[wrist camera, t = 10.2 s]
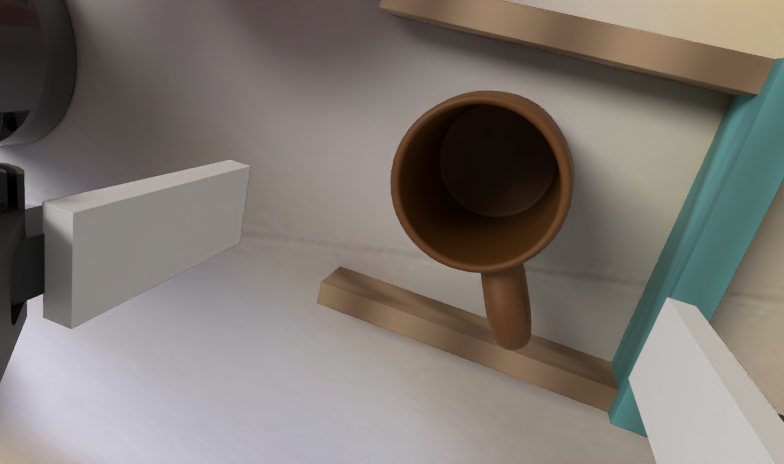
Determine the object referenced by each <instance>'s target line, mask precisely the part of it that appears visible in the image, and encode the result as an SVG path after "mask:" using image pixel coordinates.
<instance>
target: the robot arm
mask: <svg viewBox="0 0 784 464" xmlns="http://www.w3.org/2000/svg"><path fill="white" fill-rule="evenodd" d="M74 78H75V47H74V39H73V34H72V29H71V24H70V21H69V17H68V14H67V11H66V8H65V5H64V3H63V0H0V146H5V145H17V144H26V143H30V142H34V141H36V140H38V139H40V138H42V137H44V136H45V135H47V134H48V133H49V132H50V131H51V130H52V129H53V128H54V127H55V126H56V125H57V124H58V122H59V121H60V120H61V118H62V116H63V115H64V113H65V111H66V109H67V106H68V104H69V101H70V98H71V94H72V90H73V85H74ZM249 172H250V166H249V165H246V164H242V163H239V162H236V161H233V160H226V161H221V162H217V163H213V164H208V165H204V166H199V167H195V168H190V169H186V170H182V171H177V172H173V173H168V174H164V175H159V176H155V177H150V178H146V179H142V180H137V181H133V182H128V183H124V184H119V185H115V186H111V187H106V188H102V189H97V190H93V191H88V192H84V193H79V194H75V195H71V196H66V197H62V198H57V199H53V200H48V201H44V202H43V205H42V206H38V207H34V208H29V209H25V187H24V170H22V169H21V168H19V167H17V166H14V165H10V164H6V163H0V382H1V379H2V377H3V374H4V372H5V369H6V367H7V365H8V362H9V360H10V357H11V355H12V352H13V350H14V347H15V345H16V342H17V340H18V337H19V335H20V332H21V330H22V327H23V325H24V322H25V320H26V317H27V300H29V299H31V298H34V297H36V296H39V295H41V294H43V318H46V319H48V320H51V321H53V322H55V323H58V324H60V325H63V326H65V327H67V328H70V329H73V328H75V327H77V326H78V325H80V324H82V323H84V322H86V321H88V320H90V319H92V318H94V317H96V316H98V315H100V314H102V313H104V312H106V311H108V310H110V309H111V308H113V307H115V306H117V305H119V304H121V303H123V302H125V301H127V300H129V299H131V298H133V297H135V296H137V295H139V294H141V293H143V292H145V291H146V290H148V289H150V288H152V287H154V286H156V285H158V284H160V283H162V282H164V281H166V280H168V279H170V278H172V277H174V276H176V275H178V274H179V273H181V272H183V271H185V270H187V269H189V268H191V267H193V266H195V265H197V264H199V263H201V262H203V261H205V260H207V259H209V258H211V257H212V256H214V255H216V254H218V253H220V252H222V251H224V250H226V249H228V248H230V247H232V246H234V245H236V244H238V243H240V237H241V230H242V222H243V215H244V208H245V201H246V194H247V187H248V180H249ZM628 379H629V382H630V385H631V388H632V391H633V394H634V397H635V400H636V403H637V406H638V409H639V412H640V415H641V418H642V421H643V424H644V427H645V430H646V433H647V436H648V439H649V442H650V445H651V448H652V451H653V455H654V458H655V461H656V464H784V416H783V415H780V414H777V413H776V411H775V410H774V409H773V407H772V406H771V405H770V403H769V402H768V401H767V400H766V398H765V397H764V396H763V394H762V393H761V392H760V390H759V389H758V388H757V386H756V385H755V384H754V382H753V381H752V380H751V378H750V377H749V376H748V374H747V373H746V372H745V370H744V369H743V368H742V366H741V365H740V364H739V362H738V361H737V360H736V358H735V357H734V356H733V354H732V353H731V352H730V350H729V349H728V348H727V347H726V345H725V344H724V343H723V341H722V340H721V339H720V337H719V336H718V335H717V333H716V332H715V331H714V329H713V328H712V327H711V325H710V324H709V323H708V321H707V320H706V319H705V317H704V316H703V315H702V313H701V312H700V311H699V309H698V308H697V307H696V306H694V305H690V304H687V303H684V302H681V301H678V300H675V299H671V298H668V297H667V299H666V301H665V303H664V305H663V307H662V309H661V311H660V313H659V315H658V317H657V319H656V322H655V324H654V326H653V328H652V330H651V332H650V334H649V336H648V338H647V340H646V342H645V344H644V347H643V349H642V351H641V353H640V355H639V357H638V359H637V361H636V363H635V365H634V367H633V370H632V372H631V374H630V376H629V378H628Z"/></svg>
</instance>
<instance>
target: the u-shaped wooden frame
mask: <svg viewBox="0 0 784 464" xmlns="http://www.w3.org/2000/svg"><path fill="white" fill-rule="evenodd" d="M379 7H380V8H382V9H384V10H386V11H388V12H389V13H391V14H393V15H395V16H398V17H402V18H407V19H411V20H415V21H419V22H424V23H428V24H432V25H437V26H441V27H445V28H449V29H454V30H458V31H462V32H466V33H471V34H475V35H479V36H484V37H488V38H492V39H496V40H501V41H505V42H509V43H513V44H518V45H522V46H526V47H531V48H535V49H539V50H543V51H548V52H552V53H556V54H561V55H565V56H569V57H573V58H578V59H582V60H586V61H590V62H595V63H599V64H603V65H608V66H612V67H616V68H620V69H625V70H629V71H633V72H637V73H642V74H646V75H650V76H655V77H659V78H663V79H667V80H672V81H676V82H680V83H685V84H689V85H693V86H697V87H702V88H706V89H710V90H714V91H719V92H723V93H727V94H732V95H733V98H732V100H731V102H730V104H729V106H728V109H727V111H726V113H725V115H724V117H723V120H722V122H721V124H720V126H719V128H718V130H717V133H716V135H715V137H714V139H713V141H712V144H711V146H710V148H709V150H708V152H707V155H706V157H705V159H704V161H703V163H702V166H701V168H700V170H699V172H698V174H697V177H696V179H695V181H694V183H693V185H692V187H691V190H690V192H689V194H688V196H687V198H686V201H685V203H684V205H683V207H682V209H681V212H680V214H679V216H678V218H677V220H676V223H675V225H674V227H673V229H672V231H671V233H670V236H669V238H668V240H667V242H666V244H665V247H664V249H663V251H662V253H661V255H660V258H659V260H658V262H657V264H656V266H655V269H654V271H653V273H652V275H651V277H650V280H649V282H648V284H647V286H646V288H645V290H644V293H643V295H642V297H641V299H640V301H639V304H638V306H637V308H636V310H635V312H634V315H633V317H632V319H631V321H630V323H629V326H628V328H627V330H626V332H625V334H624V336H623V339H622V341H621V343H620V345H619V347H618V350H617V352H616V354H615V356H614V358H613V361H612V363H611V362H608V361H605V360H602V359H599V358H597V357H594V356H591V355H588V354H585V353H582V352H580V351H577V350H574V349H571V348H568V347H565V346H563V345H560V344H557V343H554V342H551V341H549V340H546V339H543V338H540V337H537V336H534V335H532V334H531V338H530V340H529V342H528V344H526V345H525V346H524V347H523V348H521V349H518V350H514V351H512V350H506V349H504V348H502V347H500V346H499V345H498V344H497V343H496V341H495V340H494V338H493V336H492V332H491V329H490V326H489V322H488V319H487V318H484V317H481V316H478V315H475V314H472V313H470V312H467V311H464V310H461V309H458V308H455V307H453V306H450V305H447V304H444V303H441V302H439V301H436V300H433V299H430V298H427V297H424V296H422V295H419V294H416V293H413V292H410V291H408V290H405V289H402V288H399V287H396V286H393V285H391V284H388V283H385V282H382V281H379V280H376V279H374V278H371V277H368V276H365V275H362V274H360V273H357V272H354V271H351V270H348V269H345V268H343V267H339V268H338V269H337V270H335V271H334V272H333V273H332V274H331V275H329V276H328V277H327V278H326V279H325V280H323V281H322V282H321V287H320V292H319V296H318V301H317V303H318V304H321V305H323V306H326V307H329V308H331V309H334V310H337V311H339V312H342V313H345V314H347V315H350V316H353V317H355V318H358V319H361V320H363V321H366V322H369V323H371V324H374V325H377V326H379V327H382V328H385V329H387V330H390V331H393V332H395V333H398V334H401V335H403V336H406V337H409V338H411V339H414V340H417V341H419V342H422V343H425V344H427V345H430V346H433V347H435V348H438V349H441V350H443V351H446V352H449V353H451V354H454V355H457V356H459V357H462V358H465V359H467V360H470V361H473V362H475V363H478V364H481V365H483V366H486V367H489V368H491V369H494V370H497V371H499V372H502V373H505V374H507V375H510V376H513V377H515V378H518V379H521V380H523V381H526V382H529V383H531V384H534V385H537V386H539V387H542V388H545V389H547V390H550V391H553V392H555V393H558V394H561V395H563V396H566V397H569V398H571V399H574V400H577V401H579V402H582V403H585V404H587V405H590V406H593V407H595V408H598V409H601V410H603V411H606V412H608V413H609V418H610V423H611V424H613V425H616V426H619V427H621V428H624V429H626V430H629V431H632V432H634V433H637V434H640V435H642V436H645V437H648V436H647V433H646V430H645V427H644V424H643V421H642V418H641V415H640V412H639V409H638V406H637V403H636V400H635V397H634V394H633V391H632V388H631V385H630V382H629V379H628V378H629V376H630V374H631V372H632V370H633V367H634V365H635V363H636V361H637V359H638V357H639V355H640V353H641V351H642V349H643V347H644V344H645V342H646V340H647V338H648V336H649V334H650V332H651V330H652V328H653V326H654V324H655V322H656V319H657V317H658V315H659V313H660V311H661V309H662V307H663V305H664V303H665V301H666V299H667V297H668V298H671V299H675V300H678V301H681V302H684V303H687V304H690V305H694V306H696V307H697V308H698V309H699V311H700V312H701V313H702V315H703V316H704V317H705V319H706V320H707V321H708V323H709V322H710V320H711V318H712V316H713V314H714V312H715V310H716V308H717V306H718V304H719V303H720V301H721V299H722V297H723V295H724V293H725V291H726V289H727V287H728V285H729V283H730V281H731V279H732V277H733V275H734V274H735V272H736V270H737V268H738V266H739V264H740V262H741V260H742V258H743V256H744V254H745V252H746V250H747V248H748V247H749V245H750V243H751V241H752V239H753V237H754V235H755V233H756V231H757V229H758V227H759V225H760V223H761V221H762V219H763V218H764V216H765V214H766V212H767V210H768V208H769V206H770V204H771V202H772V200H773V198H774V196H775V194H776V192H777V191H778V189H779V187H780V185H781V183H782V181H783V179H784V58H781V59H771V58H766V57H762V56H757V55H752V54H748V53H743V52H739V51H734V50H729V49H725V48H720V47H716V46H711V45H706V44H702V43H697V42H692V41H688V40H683V39H679V38H674V37H669V36H665V35H660V34H655V33H651V32H646V31H642V30H637V29H632V28H628V27H623V26H619V25H614V24H609V23H605V22H600V21H595V20H591V19H586V18H582V17H577V16H572V15H568V14H563V13H559V12H554V11H549V10H545V9H540V8H535V7H531V6H526V5H522V4H517V3H512V2H508V1H503V0H381V1H380V6H379Z"/></svg>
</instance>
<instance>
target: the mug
mask: <svg viewBox="0 0 784 464" xmlns="http://www.w3.org/2000/svg"><path fill="white" fill-rule="evenodd" d="M573 185H574V170H573V161H572V157H571V153H570V150H569V147H568V144H567V142H566V139H565V138H564V136H563V134H562V132H561V130H560V129H559V127H558V125H557V124H556V123H555V121H554V120H553V119H552V117H551V116H550V115H549V114H548V113H547V112H546V111H545V110H544V109H543V108H541V107H540V106H539V105H537V104H536V103H534V102H532V101H530V100H528V99H526V98H524V97H521V96H518V95H515V94H511V93H506V92H498V91H476V92H470V93H465V94H461V95H458V96H455V97H452V98H450V99H448V100H446V101H444V102H442V103H440V104H438V105H436V106H435V107H433V108H432V109H430V110H429V111H427V112H426V113H425V114H423V115H422V116H421V117H420V118H419V119H418V120H417V121H416V122H415V123H414V124H413V125H412V126H411V127H410V129H409V130H408V131H407V133H406V134H405V136H404V137H403V139H402V141H401V143H400V145H399V147H398V149H397V152H396V155H395V157H394V161H393V166H392V170H391V195H392V201H393V205H394V209H395V212H396V215H397V217H398V219H399V221H400V224H401V225H402V227H403V229H404V230H405V232H406V234H407V235H408V236H409V237H410V239H411V240H412V241H413V242H414V243H415V244H416V245H417V246H418V247H419V248H420V249H421V250H422V251H423V252H424V253H426V254H427V255H428V256H429V257H431V258H433V259H434V260H436V261H438V262H439V263H442V264H444V265H446V266H448V267H451V268H455V269H458V270H462V271H468V272H476V273H481V279H482V286H483V293H484V300H485V308H486V313H487V318H488V322H489V326H490V329H491V332H492V336H493V338H494V340H495V341H496V343H497V344H498V345H499V346H500V347H502V348H504V349H506V350H512V351H514V350H518V349H521V348H523V347H524V346H525V345H526V344H528V342H529V340H530V338H531V310H530V301H529V293H528V287H527V281H526V275H525V269H524V264H523V263H524V262H526V261H528V260H529V259H531V258H533V257H534V256H536V255H537V254H538V253H540V252H541V251H542V250H543V249H544V248H545V247H546V246H547V245H548V244H549V243H550V242H551V241H552V240H553V239H554V237H555V236H556V234H557V233H558V232H559V230H560V229H561V227H562V225H563V223H564V221H565V219H566V216H567V213H568V210H569V208H570V203H571V198H572V193H573Z"/></svg>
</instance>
